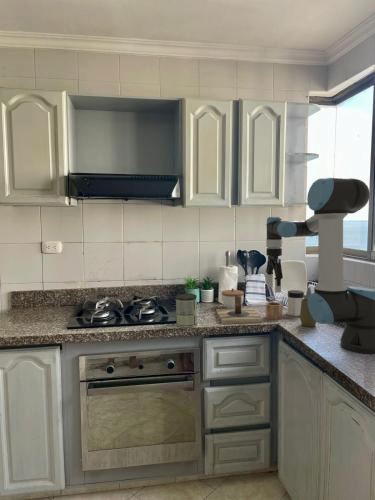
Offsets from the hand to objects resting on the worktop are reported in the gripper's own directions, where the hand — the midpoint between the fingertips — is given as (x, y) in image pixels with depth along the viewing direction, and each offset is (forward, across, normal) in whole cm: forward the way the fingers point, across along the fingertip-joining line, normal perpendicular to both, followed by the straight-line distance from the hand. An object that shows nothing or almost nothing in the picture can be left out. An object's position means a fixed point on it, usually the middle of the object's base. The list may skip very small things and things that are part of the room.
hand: (273, 289), depth 183 cm
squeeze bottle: (+14, -16, -12) cm, 24 cm away
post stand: (+14, +2, +18) cm, 23 cm away
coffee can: (+15, -8, +45) cm, 48 cm away
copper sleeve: (+14, 0, 0) cm, 14 cm away
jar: (+15, +4, -13) cm, 20 cm away
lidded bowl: (+15, +22, +17) cm, 32 cm away
